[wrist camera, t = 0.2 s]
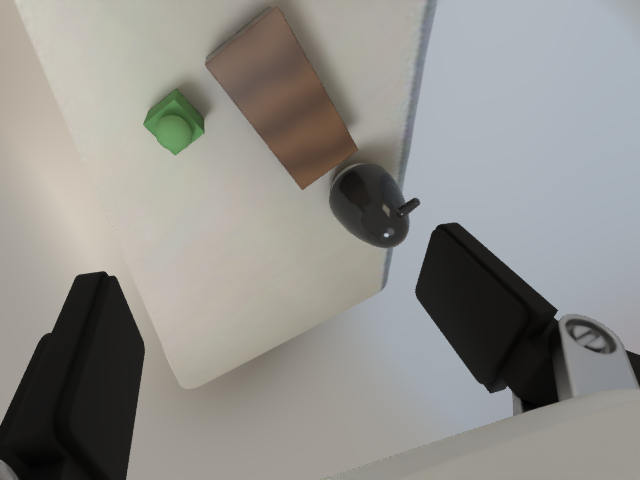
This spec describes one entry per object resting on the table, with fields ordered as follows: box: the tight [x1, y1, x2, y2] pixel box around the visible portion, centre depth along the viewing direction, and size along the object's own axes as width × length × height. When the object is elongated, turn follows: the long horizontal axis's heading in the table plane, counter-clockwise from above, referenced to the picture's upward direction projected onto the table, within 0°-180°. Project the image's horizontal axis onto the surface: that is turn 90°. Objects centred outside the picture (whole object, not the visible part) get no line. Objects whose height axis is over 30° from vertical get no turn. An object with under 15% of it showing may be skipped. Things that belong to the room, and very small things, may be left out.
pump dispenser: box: [329, 163, 420, 248], centre depth 47 cm, size 10×10×15 cm
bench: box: [205, 6, 358, 190], centre depth 40 cm, size 18×9×6 cm, turn 32°
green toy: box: [143, 89, 204, 155], centre depth 37 cm, size 4×4×8 cm
